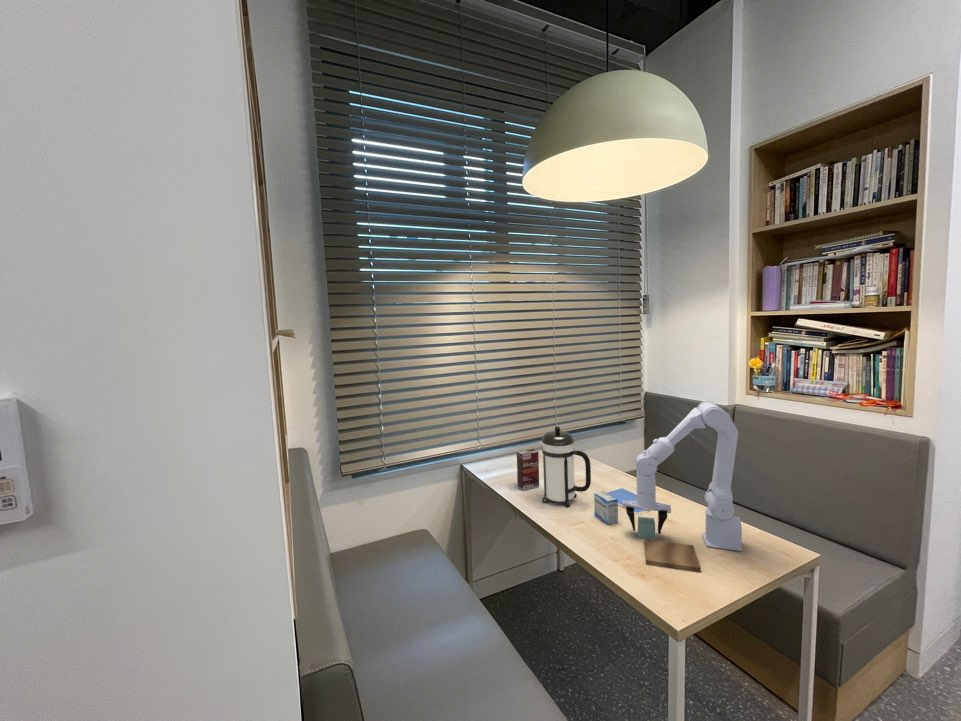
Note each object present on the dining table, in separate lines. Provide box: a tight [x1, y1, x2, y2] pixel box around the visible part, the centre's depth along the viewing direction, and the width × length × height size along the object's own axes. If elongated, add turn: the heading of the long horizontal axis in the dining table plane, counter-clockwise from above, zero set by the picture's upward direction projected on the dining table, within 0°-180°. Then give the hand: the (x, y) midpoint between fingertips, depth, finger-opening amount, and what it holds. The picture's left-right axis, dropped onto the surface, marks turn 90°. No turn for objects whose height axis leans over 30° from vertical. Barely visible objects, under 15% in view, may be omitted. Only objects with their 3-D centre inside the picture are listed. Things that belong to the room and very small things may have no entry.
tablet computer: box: [606, 488, 646, 515], centre depth 157 cm, size 19×13×1 cm, turn 27°
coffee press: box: [538, 426, 592, 508], centre depth 159 cm, size 17×16×30 cm
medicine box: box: [593, 490, 619, 525], centre depth 143 cm, size 8×4×9 cm, turn 21°
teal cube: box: [637, 515, 656, 540], centre depth 132 cm, size 5×5×5 cm
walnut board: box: [643, 539, 701, 573], centre depth 119 cm, size 14×12×1 cm
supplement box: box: [516, 449, 540, 492], centre depth 174 cm, size 9×5×16 cm, turn 114°
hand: (646, 530), depth 132 cm, fingers open, 7 cm apart
